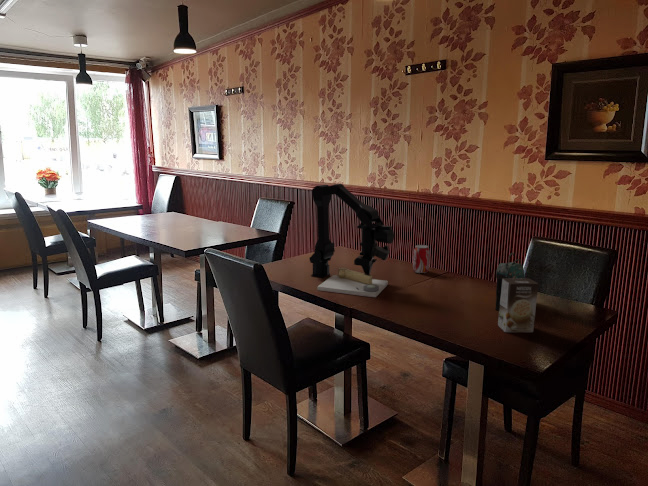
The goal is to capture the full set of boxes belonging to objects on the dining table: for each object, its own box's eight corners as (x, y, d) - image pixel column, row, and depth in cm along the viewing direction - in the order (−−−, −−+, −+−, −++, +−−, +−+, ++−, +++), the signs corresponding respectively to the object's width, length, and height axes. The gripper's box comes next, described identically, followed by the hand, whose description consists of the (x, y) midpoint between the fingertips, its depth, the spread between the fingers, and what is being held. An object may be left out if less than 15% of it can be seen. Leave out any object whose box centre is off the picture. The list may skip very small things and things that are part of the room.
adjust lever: (336, 276, 207) (336, 268, 206) (342, 275, 210) (342, 267, 209) (367, 285, 195) (367, 276, 194) (373, 283, 198) (374, 274, 197)
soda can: (424, 275, 216) (425, 248, 213) (410, 272, 220) (411, 246, 217) (431, 271, 221) (432, 245, 219) (417, 269, 225) (418, 243, 223)
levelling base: (317, 290, 195) (317, 282, 194) (333, 278, 211) (333, 271, 210) (375, 297, 186) (375, 289, 185) (387, 284, 202) (387, 277, 201)
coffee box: (505, 333, 152) (509, 283, 149) (497, 325, 159) (501, 277, 155) (534, 332, 153) (538, 283, 149) (525, 324, 159) (529, 277, 155)
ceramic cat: (506, 314, 168) (511, 258, 164) (488, 310, 172) (492, 255, 168) (526, 300, 183) (531, 248, 179) (509, 296, 187) (513, 245, 183)
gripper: (381, 247, 185) (380, 286, 189) (393, 237, 202) (392, 273, 205) (354, 244, 189) (353, 282, 193) (368, 234, 206) (367, 270, 210)
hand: (367, 277), depth 200 cm, fingers closed
